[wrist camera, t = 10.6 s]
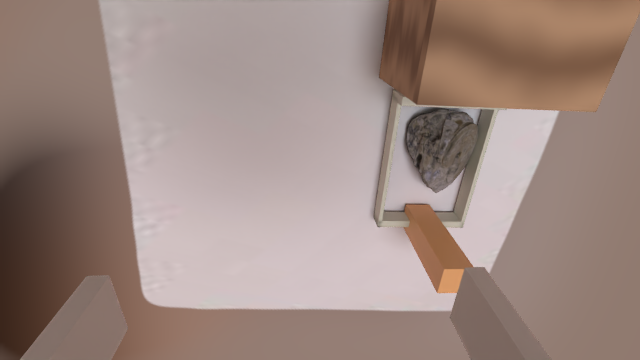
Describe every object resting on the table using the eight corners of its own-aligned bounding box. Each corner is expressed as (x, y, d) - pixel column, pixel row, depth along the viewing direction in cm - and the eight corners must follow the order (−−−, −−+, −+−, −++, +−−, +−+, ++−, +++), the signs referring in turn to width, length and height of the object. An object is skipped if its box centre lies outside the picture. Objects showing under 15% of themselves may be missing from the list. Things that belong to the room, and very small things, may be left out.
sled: (393, 89, 40) (436, 121, 28) (490, 93, 41) (573, 126, 29) (372, 224, 48) (398, 293, 36) (453, 224, 50) (504, 292, 37)
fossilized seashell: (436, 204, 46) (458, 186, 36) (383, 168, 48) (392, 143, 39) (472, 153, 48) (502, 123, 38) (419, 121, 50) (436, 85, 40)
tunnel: (390, -9, 35) (440, -22, 23) (530, 1, 37) (648, -6, 24) (379, 77, 39) (416, 104, 27) (505, 83, 41) (596, 112, 28)
